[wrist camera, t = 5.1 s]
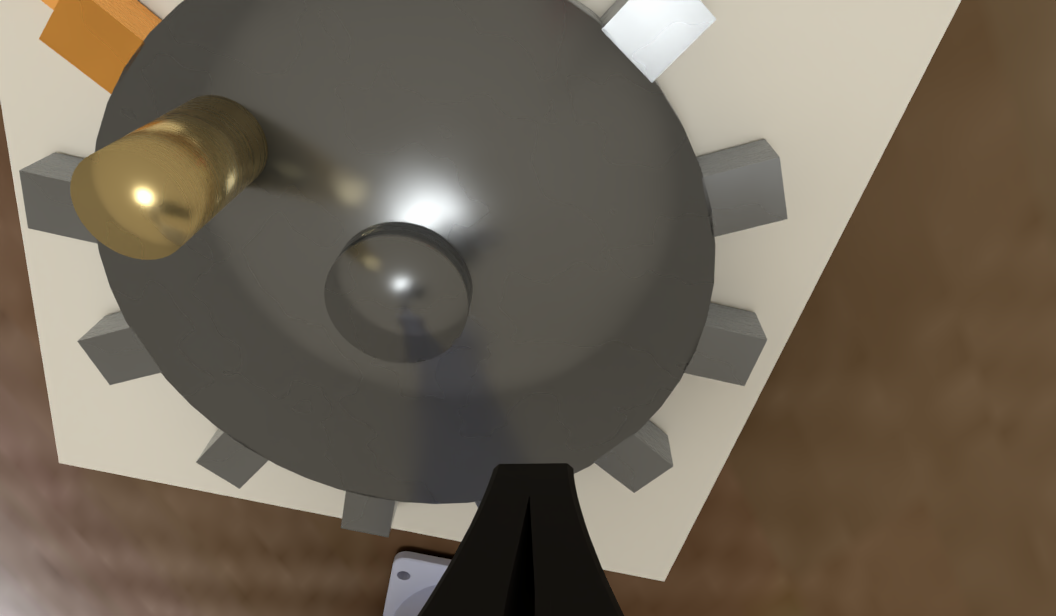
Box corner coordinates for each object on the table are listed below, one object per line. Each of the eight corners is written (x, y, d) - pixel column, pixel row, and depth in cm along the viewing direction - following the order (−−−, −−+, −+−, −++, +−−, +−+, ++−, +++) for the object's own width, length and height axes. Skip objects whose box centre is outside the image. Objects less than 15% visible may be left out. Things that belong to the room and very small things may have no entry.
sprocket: (920, 256, 19) (1038, 376, 14) (456, 584, 26) (433, 731, 22) (324, -426, 12) (181, -614, 8) (-53, 265, 20) (-237, 375, 16)
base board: (661, 559, 27) (666, 595, 25) (76, 443, 25) (48, 475, 24) (976, -78, 16) (1015, -75, 14) (-38, -360, 14) (-104, -388, 13)
